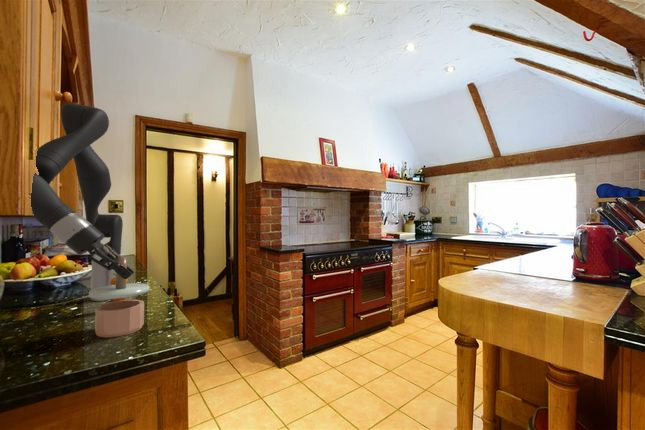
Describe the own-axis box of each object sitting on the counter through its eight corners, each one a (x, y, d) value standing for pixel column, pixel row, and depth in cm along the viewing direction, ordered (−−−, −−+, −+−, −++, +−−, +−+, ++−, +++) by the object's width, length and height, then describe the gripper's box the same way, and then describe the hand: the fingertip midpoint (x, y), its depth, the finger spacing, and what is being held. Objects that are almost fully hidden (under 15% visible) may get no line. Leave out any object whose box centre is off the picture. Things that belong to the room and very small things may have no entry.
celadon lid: (87, 291, 82) (88, 256, 82) (144, 285, 91) (145, 253, 91) (90, 302, 71) (92, 261, 72) (154, 293, 81) (155, 257, 81)
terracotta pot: (93, 329, 82) (94, 304, 82) (139, 320, 89) (139, 297, 89) (96, 341, 73) (97, 313, 73) (146, 330, 81) (147, 305, 81)
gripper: (81, 223, 72) (136, 269, 77) (98, 223, 85) (145, 263, 90) (53, 245, 70) (112, 291, 75) (75, 241, 83) (124, 281, 87)
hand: (130, 275), depth 82 cm, fingers closed on celadon lid, 2 cm apart
